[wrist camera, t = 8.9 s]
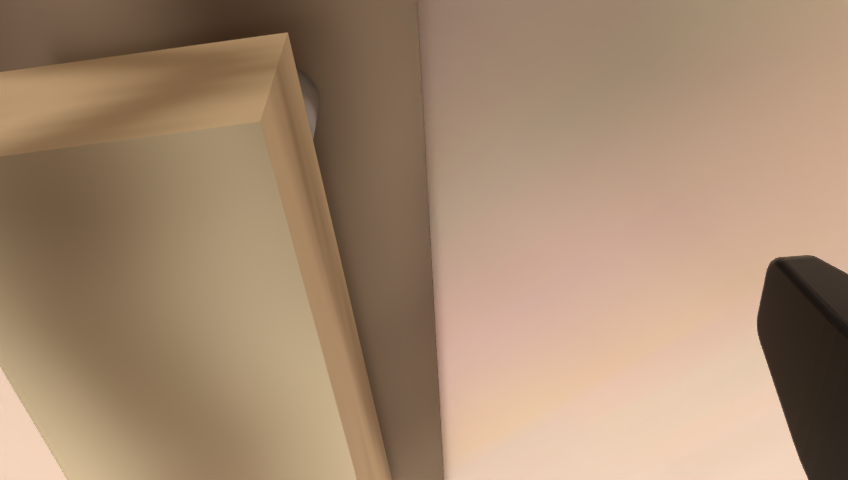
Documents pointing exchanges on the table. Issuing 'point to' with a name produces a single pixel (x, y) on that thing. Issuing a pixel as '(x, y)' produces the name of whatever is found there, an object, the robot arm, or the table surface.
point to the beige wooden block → (178, 271)
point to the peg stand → (336, 153)
